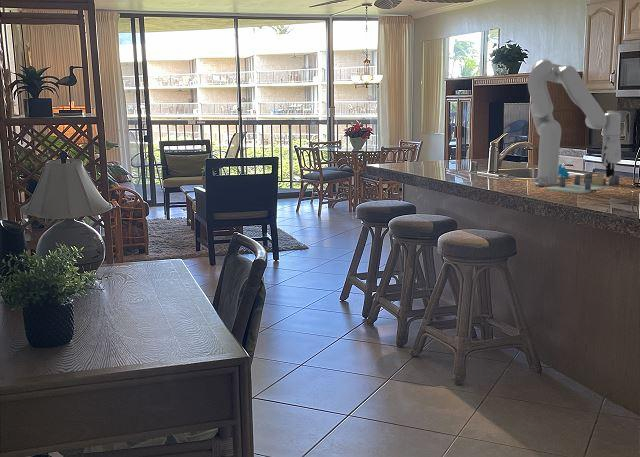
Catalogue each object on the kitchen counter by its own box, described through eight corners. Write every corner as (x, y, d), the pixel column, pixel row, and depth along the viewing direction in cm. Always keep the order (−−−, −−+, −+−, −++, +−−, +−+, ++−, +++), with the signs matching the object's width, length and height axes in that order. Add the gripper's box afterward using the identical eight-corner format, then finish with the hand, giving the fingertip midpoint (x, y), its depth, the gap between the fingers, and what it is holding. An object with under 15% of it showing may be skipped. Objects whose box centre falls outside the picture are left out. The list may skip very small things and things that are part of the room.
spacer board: (580, 193, 303) (581, 181, 302) (545, 189, 317) (546, 178, 316) (621, 186, 323) (622, 175, 322) (586, 183, 337) (587, 172, 336)
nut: (602, 185, 321) (602, 178, 320) (588, 184, 326) (589, 177, 326) (609, 184, 325) (609, 177, 324) (595, 183, 330) (596, 176, 329)
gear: (560, 176, 355) (551, 161, 360) (553, 183, 359) (544, 169, 364) (574, 177, 361) (565, 163, 366) (566, 184, 365) (558, 170, 370)
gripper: (610, 140, 319) (608, 179, 322) (627, 138, 328) (625, 176, 331) (595, 139, 325) (594, 178, 328) (612, 137, 334) (611, 175, 337)
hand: (609, 177), depth 330 cm, fingers closed
